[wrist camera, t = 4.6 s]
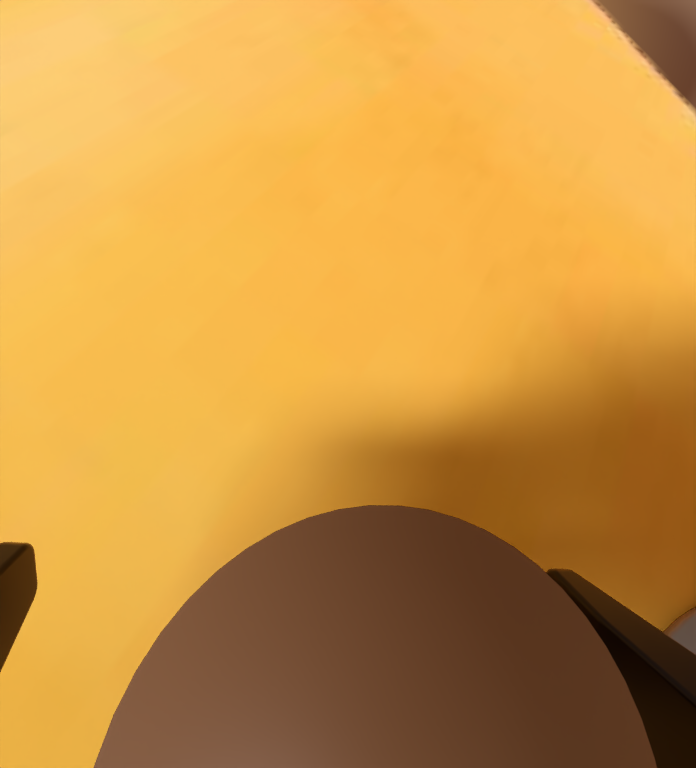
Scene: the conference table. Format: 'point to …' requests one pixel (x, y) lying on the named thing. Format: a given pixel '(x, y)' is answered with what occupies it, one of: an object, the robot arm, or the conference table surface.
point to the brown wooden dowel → (378, 659)
